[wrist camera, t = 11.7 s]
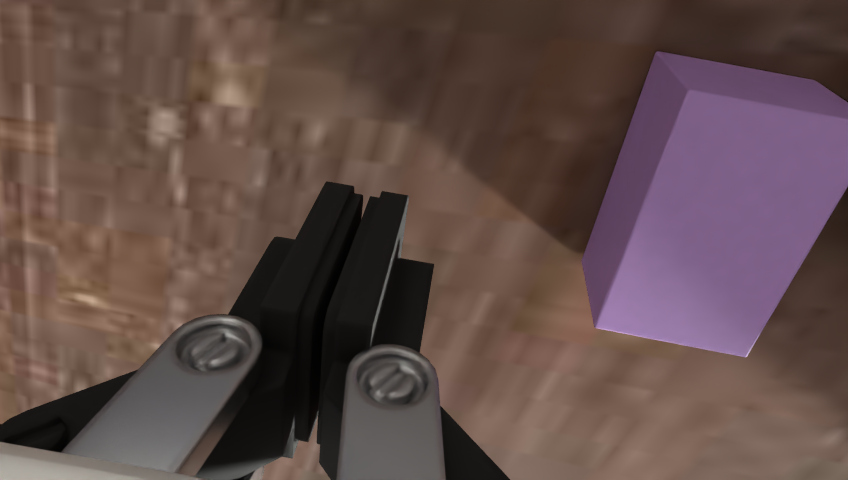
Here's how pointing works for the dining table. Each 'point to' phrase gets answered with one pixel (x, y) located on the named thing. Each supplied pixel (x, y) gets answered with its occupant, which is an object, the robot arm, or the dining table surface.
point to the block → (714, 202)
